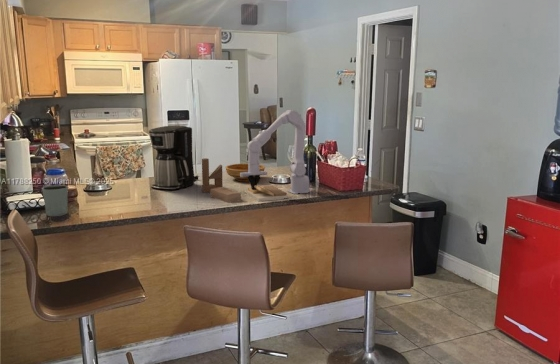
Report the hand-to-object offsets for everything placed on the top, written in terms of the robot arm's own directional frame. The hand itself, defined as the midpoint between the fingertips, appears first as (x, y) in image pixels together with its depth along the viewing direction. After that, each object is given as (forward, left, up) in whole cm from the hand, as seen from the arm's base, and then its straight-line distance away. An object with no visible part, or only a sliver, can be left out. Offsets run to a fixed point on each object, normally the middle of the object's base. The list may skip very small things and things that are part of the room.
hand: (253, 189), depth 241 cm
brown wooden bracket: (+18, -15, -3) cm, 24 cm away
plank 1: (-2, 0, -1) cm, 2 cm away
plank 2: (-2, +9, +1) cm, 9 cm away
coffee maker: (+31, -36, -3) cm, 48 cm away
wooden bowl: (-9, -39, -3) cm, 40 cm away
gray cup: (+93, +3, -3) cm, 93 cm away
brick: (+16, +3, -3) cm, 17 cm away
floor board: (-5, +5, -3) cm, 7 cm away
